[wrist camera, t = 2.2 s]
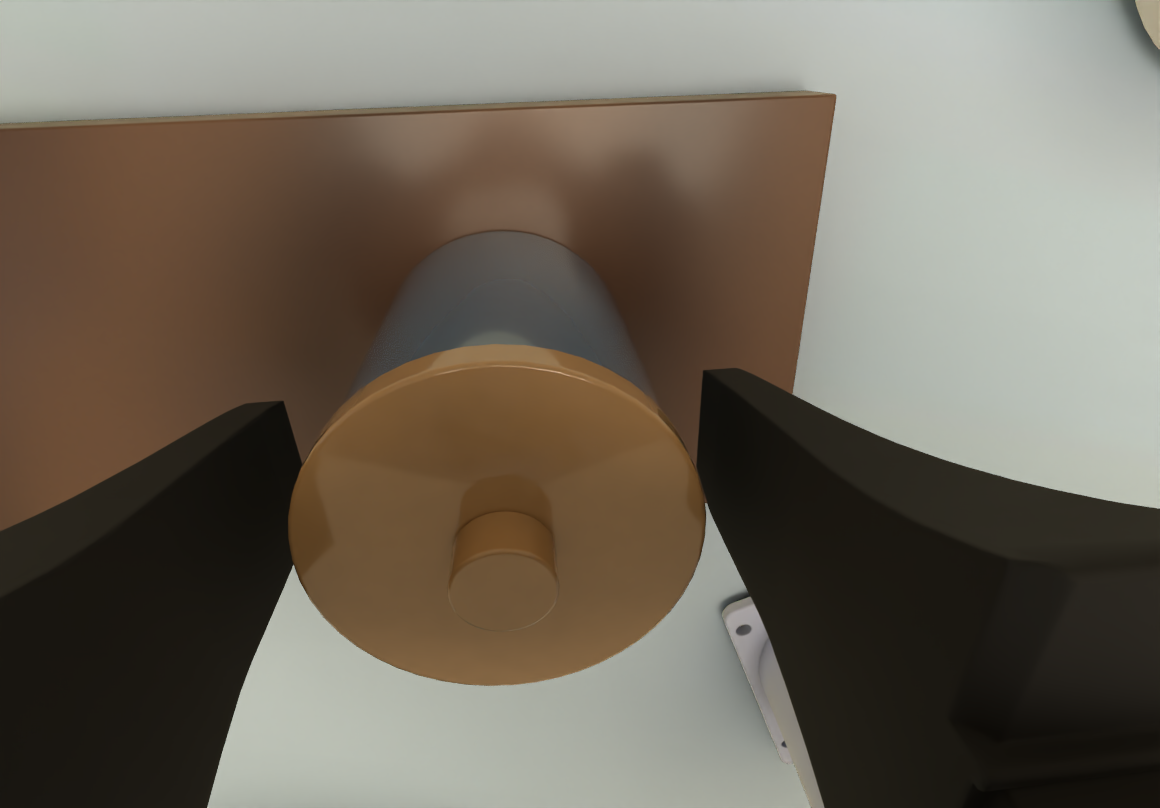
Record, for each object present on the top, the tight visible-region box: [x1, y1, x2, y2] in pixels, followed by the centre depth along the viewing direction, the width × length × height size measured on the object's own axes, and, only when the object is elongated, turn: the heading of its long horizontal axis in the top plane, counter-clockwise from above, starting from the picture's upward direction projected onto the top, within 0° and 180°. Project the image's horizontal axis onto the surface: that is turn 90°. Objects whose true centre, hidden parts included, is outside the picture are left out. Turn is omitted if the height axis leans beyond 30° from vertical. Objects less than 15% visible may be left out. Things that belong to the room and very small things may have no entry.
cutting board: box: [0, 91, 836, 531], centre depth 15 cm, size 20×10×2 cm, turn 92°
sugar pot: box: [288, 231, 706, 686], centre depth 11 cm, size 6×6×8 cm
